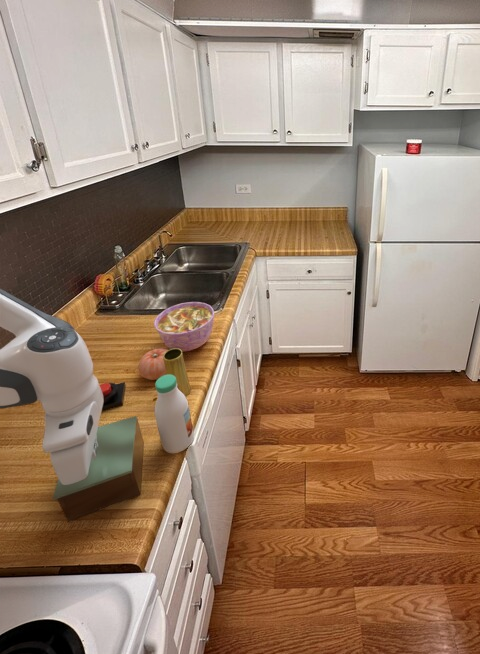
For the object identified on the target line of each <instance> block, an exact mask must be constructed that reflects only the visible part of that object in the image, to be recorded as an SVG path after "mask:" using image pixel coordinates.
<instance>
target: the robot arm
mask: <svg viewBox="0 0 480 654" xmlns="http://www.w3.org/2000/svg"><path fill="white" fill-rule="evenodd" d="M0 328H2V329H3V330H6V331H8V332H9V333H12V335H14V336H15V338H13V339H12V340H10V341H9V342H8V343H7V344H6V345H4V346H3V347H1V348H0V409H7V408H16V407H23V406H29V405H32V404H35V403H36V402H40V403H41V406H42V409H43V411H44V431H43V439H42V444H41V446H42V450H43V453H44V454H50V457H49V458H50V463H51V466H52V468H53V470H54V473H55V475H56V477H57V480H58V479H59V480H60V482H61V483H62V484H63V485H69V484H73V483H76V482H79V481H81V480H83V479H85V478H86V477H87V476H88V472H89V467H90V462H91V460H93V459H95V458H96V454H97V448H98V443H97V430H98V427H99V426H100V420H101V416H102V412H103V411H102V407H103V403H104V398H103V393H102V390H101V388H100V385H101V384H100V383H99V380H98V378H97V377H96V375H94V363H93V360H92V356H91V354H90V350H89V348H88V346H87V344H86V342H85V340H84V338H82V336H81V335H80V334H79V333H78V332H77V331H76V329H75V327H74V326H73V325H72V324H70V323H69V322H68V321H66V320H65V319H62V318H59V317H56V316H53V315H50V314H47V312H43V311H41V310H40V309H38V308H35V307H34V306H32V305H31V304H29V303H27V302H25V301H23V300H22V299H20V298H18V297H16V296H14V295H13V294H11V293H9V292H7V291H5V290H3V289H2V288H0Z"/></svg>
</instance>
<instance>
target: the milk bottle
mask: <svg viewBox="0 0 480 654" xmlns="http://www.w3.org/2000/svg"><path fill="white" fill-rule="evenodd" d="M154 387H155V390H156V393H157V398H156V401H155V404H154V418H155V423H156V427H157V432H158V435H159V439H160V443H161V447H162V449H163V450H164V451H165V452H166V453H169V454H178V453H181V452H183V451H185V450H186V449H188V447H189V446H190V445H191V444H192V442H193V440H194V437H195V433H194V426H193V421H192V415H191V411H190V406H189V403H188V399H187V396H184V394H183V393H182V392H181V391H180V390H179V389H178V388H177V380H176V377H175V376H174V375H164V376H162V377H160V378H159V379H156V381H155V383H154Z"/></svg>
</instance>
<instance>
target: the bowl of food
mask: <svg viewBox="0 0 480 654" xmlns="http://www.w3.org/2000/svg"><path fill="white" fill-rule="evenodd" d="M214 318H215V311H214V308H213V307H212V306H211V305H210V304H207V303H205V302H201V301H189V302H188V301H187V302H181V303H178V304H175V305H172V306H170V307H167V308H166V309H164V310H163V311H162V312H160V313H158V315H157V317H156V318H155V319H154V322H153V326H154V328H155V330H156V332H157V333H158V335H159V337H160V339H161V340H162V342H163V344H164V345H165V347H166V348H169V350H170V349H173V348H178V349H181V350H182V352H190V351H193V350H196V349H198V348H200V347H201V346H203V345H205V343H206V342H207V341H208V340H209V339H210V337H211V334H212V331H213V327H214Z"/></svg>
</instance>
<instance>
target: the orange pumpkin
mask: <svg viewBox="0 0 480 654" xmlns="http://www.w3.org/2000/svg"><path fill="white" fill-rule="evenodd" d="M168 350H169V349H167V348H165V347H164V348H163V347H159V348H155V349H151V350H149V351H147V352H146V353H145V354H144V355H143V356H142V357H141V358H140V360H139V362H138V364H137V368H138V369H137V370H138V372H139V374H140V376H142V378H144V379H147V380H151V381H153V380H158V379H159V378H160V377H162V376H164V375H166V369H165V365H164V360H163V355H164V353H165V352H166V351H168Z"/></svg>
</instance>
